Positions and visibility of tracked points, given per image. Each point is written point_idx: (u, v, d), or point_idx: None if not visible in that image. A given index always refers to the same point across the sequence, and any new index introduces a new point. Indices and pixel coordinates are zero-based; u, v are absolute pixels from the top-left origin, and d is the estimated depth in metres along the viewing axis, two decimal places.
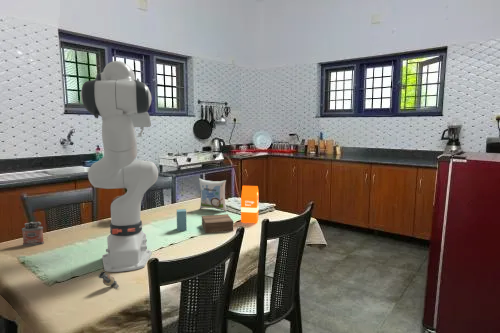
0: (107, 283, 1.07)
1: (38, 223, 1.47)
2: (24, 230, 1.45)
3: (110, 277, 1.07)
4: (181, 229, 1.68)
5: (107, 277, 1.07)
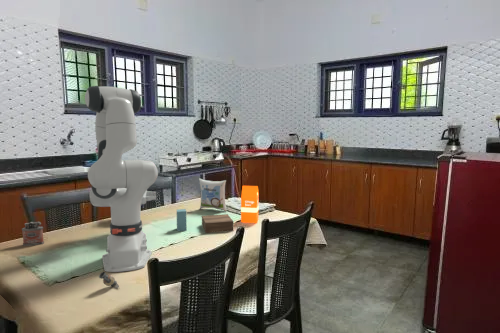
0: (107, 283, 1.07)
1: (38, 223, 1.47)
2: (24, 230, 1.45)
3: (110, 277, 1.07)
4: (181, 229, 1.68)
5: (107, 277, 1.07)
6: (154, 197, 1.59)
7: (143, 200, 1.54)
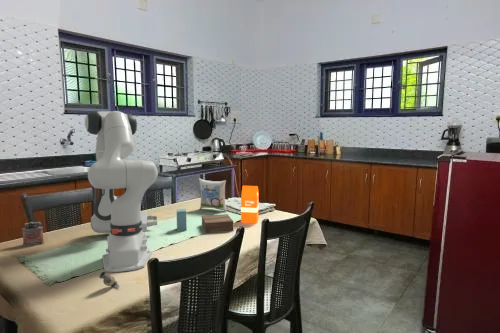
0: (108, 283, 1.06)
1: (38, 223, 1.47)
2: (24, 230, 1.45)
3: (111, 277, 1.07)
4: (181, 229, 1.68)
5: (108, 277, 1.07)
6: (155, 222, 1.61)
7: (144, 226, 1.55)
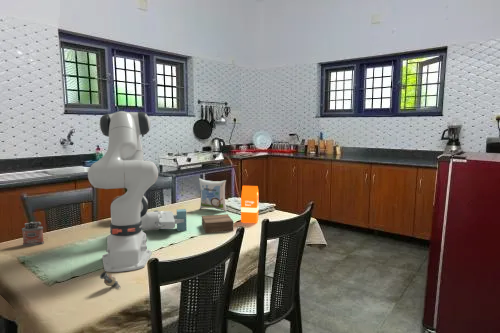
0: (109, 283, 1.06)
1: (38, 223, 1.47)
2: (24, 230, 1.45)
3: (111, 277, 1.07)
4: (181, 229, 1.68)
5: (108, 277, 1.07)
6: (182, 220, 1.66)
7: (172, 224, 1.59)
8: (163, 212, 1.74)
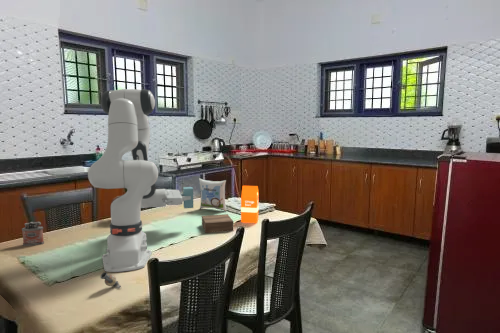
0: (109, 283, 1.06)
1: (38, 223, 1.47)
2: (24, 230, 1.45)
3: (112, 277, 1.07)
4: (188, 206, 1.67)
5: (109, 277, 1.07)
6: (189, 197, 1.66)
7: (180, 201, 1.58)
8: (169, 190, 1.74)
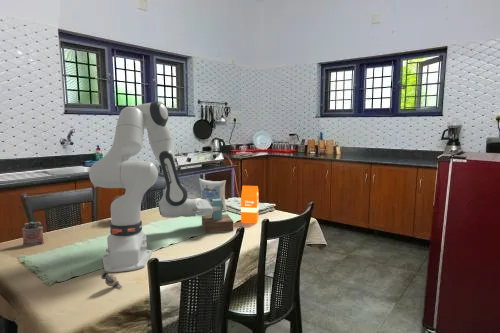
0: (110, 283, 1.06)
1: (38, 223, 1.47)
2: (24, 230, 1.45)
3: (113, 277, 1.07)
4: (217, 218, 1.70)
5: (110, 277, 1.07)
6: (218, 208, 1.67)
7: (210, 211, 1.61)
8: (198, 200, 1.77)
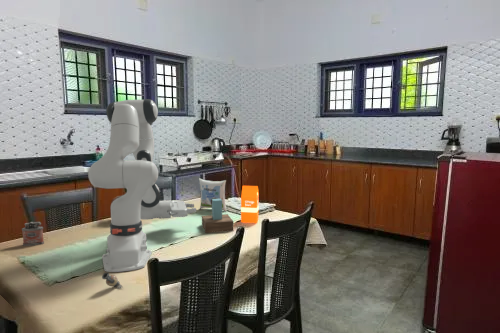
0: (111, 284, 1.06)
1: (38, 223, 1.47)
2: (24, 230, 1.45)
3: (114, 277, 1.07)
4: (217, 218, 1.70)
5: (111, 278, 1.06)
6: (194, 209, 1.63)
7: (185, 213, 1.58)
8: (174, 201, 1.73)
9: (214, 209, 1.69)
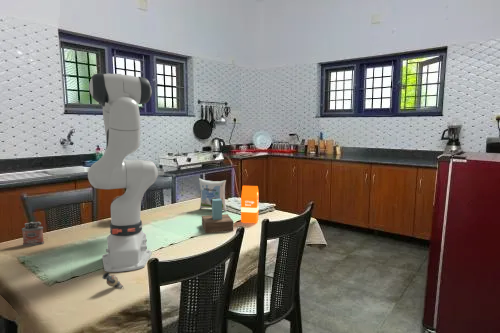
0: (111, 284, 1.06)
1: (38, 223, 1.47)
2: (24, 230, 1.45)
3: (114, 277, 1.07)
4: (217, 218, 1.70)
5: (111, 278, 1.06)
6: (162, 172, 1.59)
7: None
8: None
9: (214, 209, 1.69)
